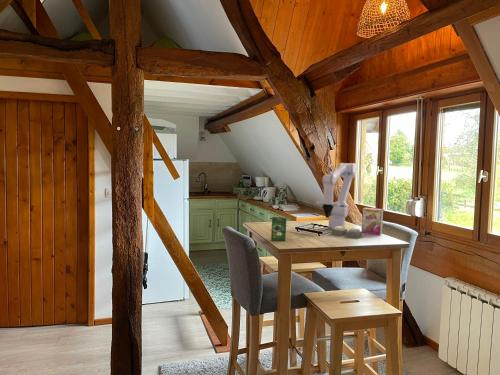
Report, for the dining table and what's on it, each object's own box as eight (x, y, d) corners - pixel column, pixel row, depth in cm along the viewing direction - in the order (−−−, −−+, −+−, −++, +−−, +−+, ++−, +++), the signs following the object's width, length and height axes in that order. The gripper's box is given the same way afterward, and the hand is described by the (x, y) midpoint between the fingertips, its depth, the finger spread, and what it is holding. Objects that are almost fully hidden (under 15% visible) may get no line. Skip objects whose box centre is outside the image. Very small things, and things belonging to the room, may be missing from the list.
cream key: (334, 232, 229) (334, 227, 228) (337, 231, 232) (338, 226, 232) (341, 233, 226) (341, 228, 226) (344, 232, 229) (344, 227, 229)
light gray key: (348, 234, 223) (348, 229, 223) (352, 233, 227) (352, 228, 226) (356, 235, 220) (356, 230, 220) (359, 234, 224) (359, 229, 224)
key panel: (328, 237, 229) (329, 229, 228) (335, 234, 236) (336, 227, 235) (358, 241, 217) (358, 233, 217) (364, 239, 224) (364, 231, 224)
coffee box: (285, 240, 219) (286, 216, 218) (286, 241, 216) (286, 217, 215) (271, 239, 219) (271, 216, 218) (271, 240, 216) (271, 217, 215)
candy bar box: (360, 235, 234) (362, 208, 233) (363, 234, 239) (364, 207, 237) (380, 237, 229) (381, 210, 227) (382, 236, 233) (383, 209, 231)
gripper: (314, 194, 235) (313, 216, 236) (336, 196, 226) (335, 219, 227) (320, 193, 240) (319, 215, 241) (342, 195, 231) (341, 218, 232)
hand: (327, 217), depth 234 cm, fingers closed
